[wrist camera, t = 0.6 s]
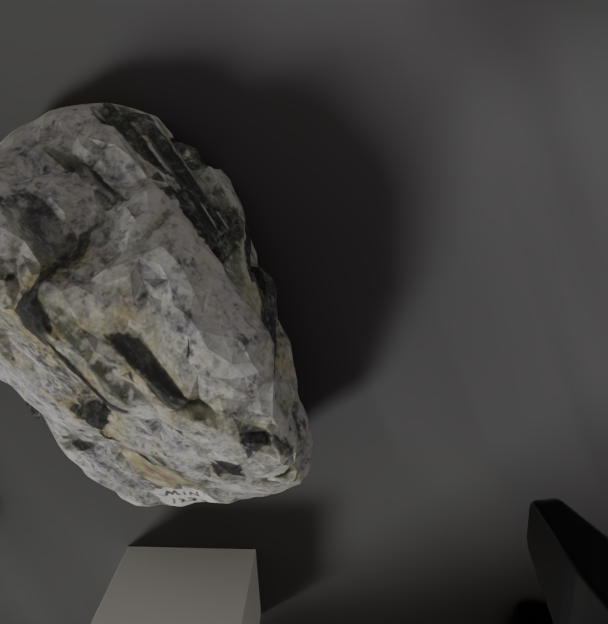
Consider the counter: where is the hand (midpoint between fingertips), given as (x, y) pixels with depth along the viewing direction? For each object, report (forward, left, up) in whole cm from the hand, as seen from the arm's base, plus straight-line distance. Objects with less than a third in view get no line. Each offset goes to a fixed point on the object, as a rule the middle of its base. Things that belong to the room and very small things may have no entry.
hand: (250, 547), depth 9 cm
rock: (+6, +2, -12) cm, 14 cm away
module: (+3, +15, -12) cm, 19 cm away
